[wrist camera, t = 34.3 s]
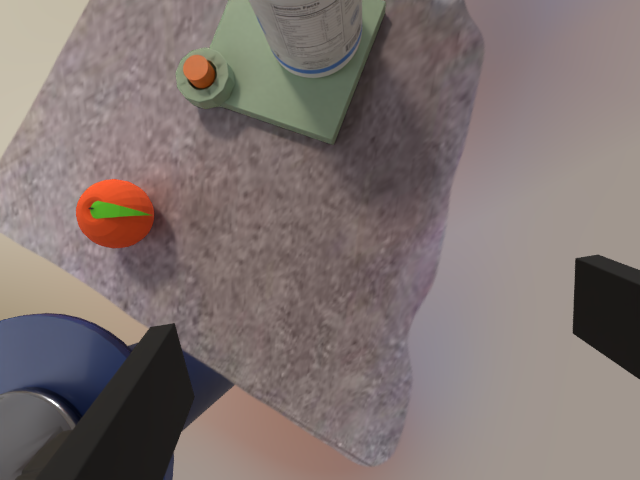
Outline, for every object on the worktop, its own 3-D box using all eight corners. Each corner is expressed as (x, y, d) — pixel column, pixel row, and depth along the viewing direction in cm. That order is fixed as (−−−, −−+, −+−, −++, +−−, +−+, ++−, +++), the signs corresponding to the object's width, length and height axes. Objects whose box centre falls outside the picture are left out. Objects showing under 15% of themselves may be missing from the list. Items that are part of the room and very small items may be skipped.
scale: (184, 106, 42) (167, 91, 38) (238, -29, 42) (226, -56, 39) (329, 156, 39) (325, 145, 36) (385, 12, 40) (386, -12, 36)
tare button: (187, 84, 38) (178, 75, 37) (196, 60, 39) (188, 51, 37) (210, 92, 38) (202, 83, 36) (219, 68, 38) (212, 58, 36)
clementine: (179, 188, 41) (140, 172, 34) (173, 252, 41) (132, 249, 34) (111, 186, 42) (60, 169, 35) (105, 248, 42) (52, 244, 35)
